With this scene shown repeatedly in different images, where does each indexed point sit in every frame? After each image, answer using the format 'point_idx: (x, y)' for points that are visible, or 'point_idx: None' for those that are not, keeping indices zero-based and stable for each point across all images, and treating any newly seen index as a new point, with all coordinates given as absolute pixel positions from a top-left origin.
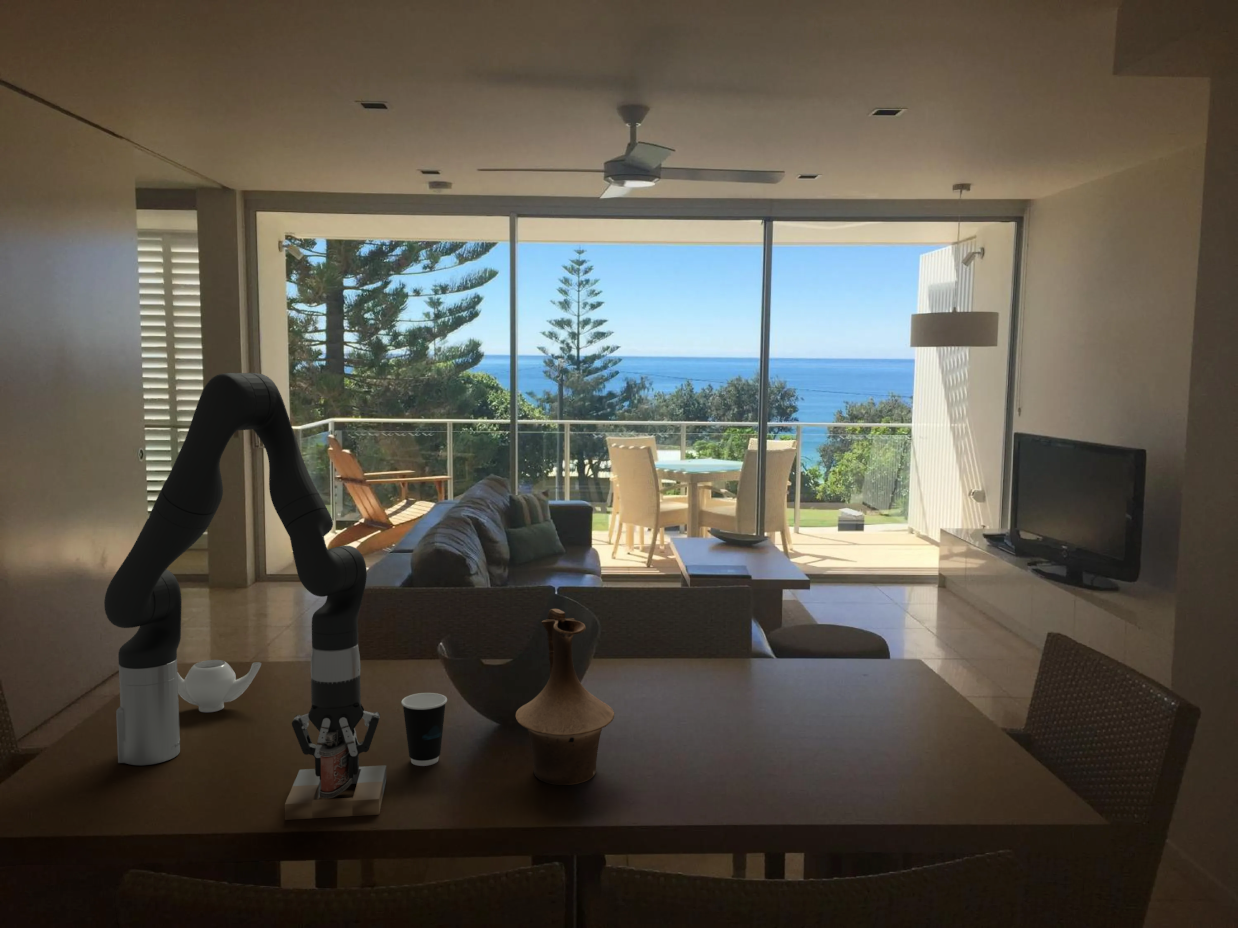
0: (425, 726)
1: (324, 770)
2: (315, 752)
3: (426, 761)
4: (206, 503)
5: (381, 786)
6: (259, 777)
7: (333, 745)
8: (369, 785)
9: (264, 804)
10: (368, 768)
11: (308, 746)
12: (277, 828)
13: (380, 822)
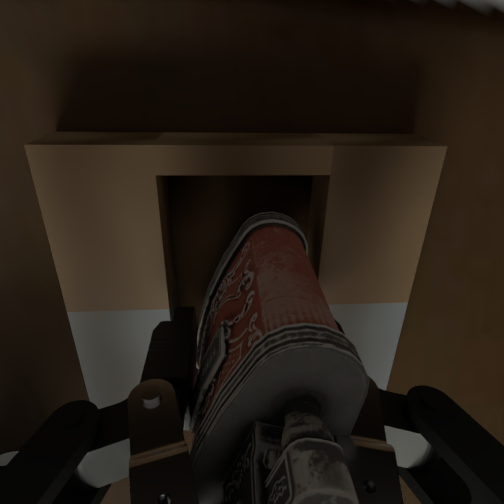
0: None
1: (304, 276)
2: (375, 395)
3: (4, 463)
4: None
5: (57, 270)
6: (467, 410)
7: (275, 429)
8: (112, 282)
9: (470, 259)
10: None
11: (433, 427)
12: (444, 57)
13: (24, 48)
